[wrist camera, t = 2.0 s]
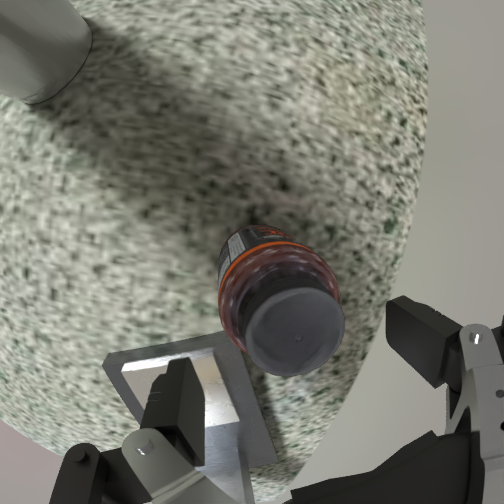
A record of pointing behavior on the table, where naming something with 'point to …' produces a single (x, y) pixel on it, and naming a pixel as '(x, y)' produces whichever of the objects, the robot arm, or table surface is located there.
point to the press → (206, 404)
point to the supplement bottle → (278, 301)
